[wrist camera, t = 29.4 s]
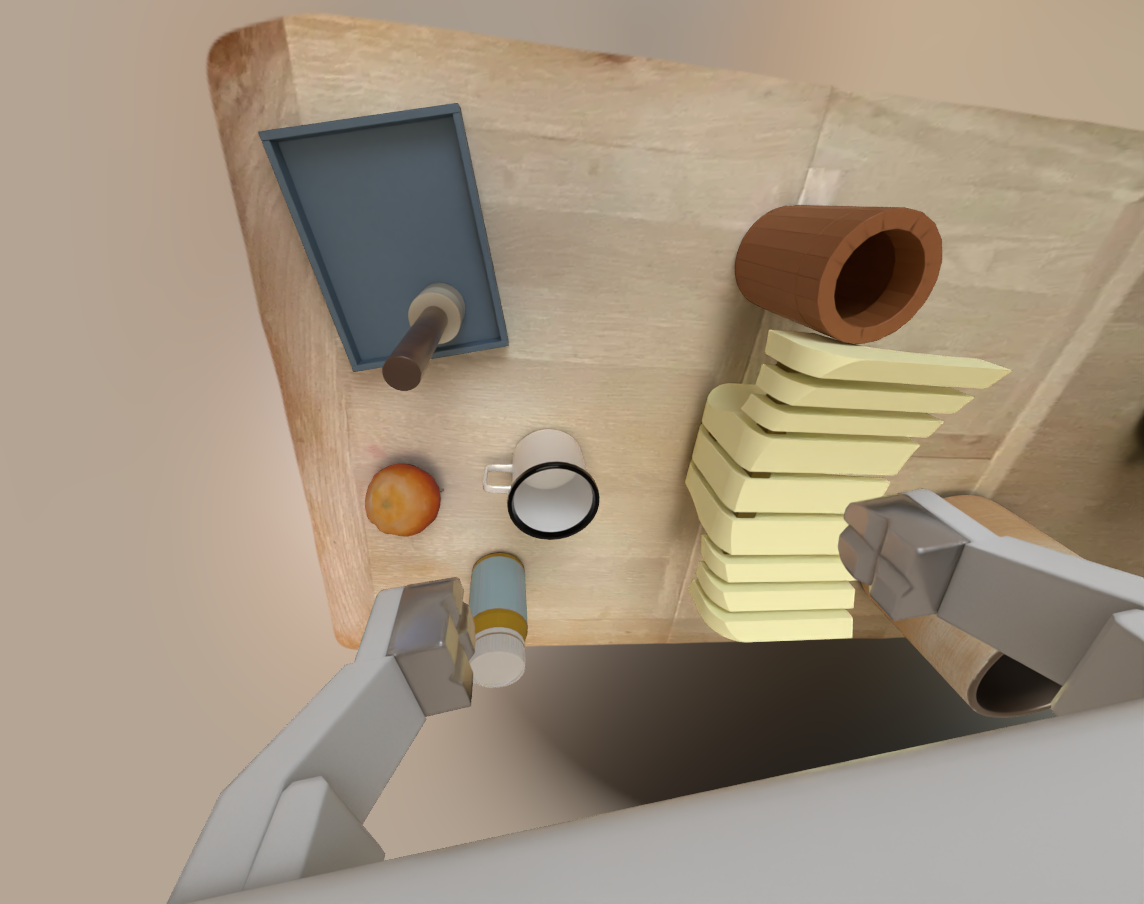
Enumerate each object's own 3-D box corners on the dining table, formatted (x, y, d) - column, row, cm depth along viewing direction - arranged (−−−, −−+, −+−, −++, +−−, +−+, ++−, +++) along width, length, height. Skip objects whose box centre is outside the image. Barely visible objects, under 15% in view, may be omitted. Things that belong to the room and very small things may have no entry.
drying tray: (269, 134, 35) (257, 131, 34) (460, 107, 36) (458, 102, 34) (359, 365, 45) (353, 372, 43) (508, 340, 46) (508, 346, 44)
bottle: (499, 541, 58) (497, 638, 45) (535, 568, 61) (542, 667, 49) (461, 570, 60) (448, 672, 47) (498, 595, 63) (495, 698, 50)
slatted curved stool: (719, 304, 47) (823, 356, 31) (854, 316, 49) (1012, 370, 34) (661, 531, 61) (713, 643, 46) (768, 531, 64) (852, 637, 48)
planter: (969, 584, 75) (1107, 699, 58) (843, 610, 75) (945, 734, 57) (1016, 476, 64) (1204, 578, 47) (869, 505, 63) (1005, 620, 46)
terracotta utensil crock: (737, 213, 43) (828, 219, 30) (832, 198, 43) (959, 198, 31) (732, 313, 47) (810, 352, 35) (817, 299, 48) (923, 333, 36)
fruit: (425, 536, 55) (383, 558, 47) (386, 485, 55) (338, 498, 47) (470, 497, 53) (435, 513, 45) (430, 445, 53) (388, 451, 46)
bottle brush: (411, 286, 42) (350, 343, 25) (458, 279, 42) (427, 330, 25) (425, 333, 44) (377, 413, 27) (470, 325, 44) (448, 401, 28)
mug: (591, 425, 52) (606, 465, 44) (581, 493, 56) (593, 540, 48) (485, 420, 50) (481, 462, 42) (484, 491, 54) (480, 540, 46)
